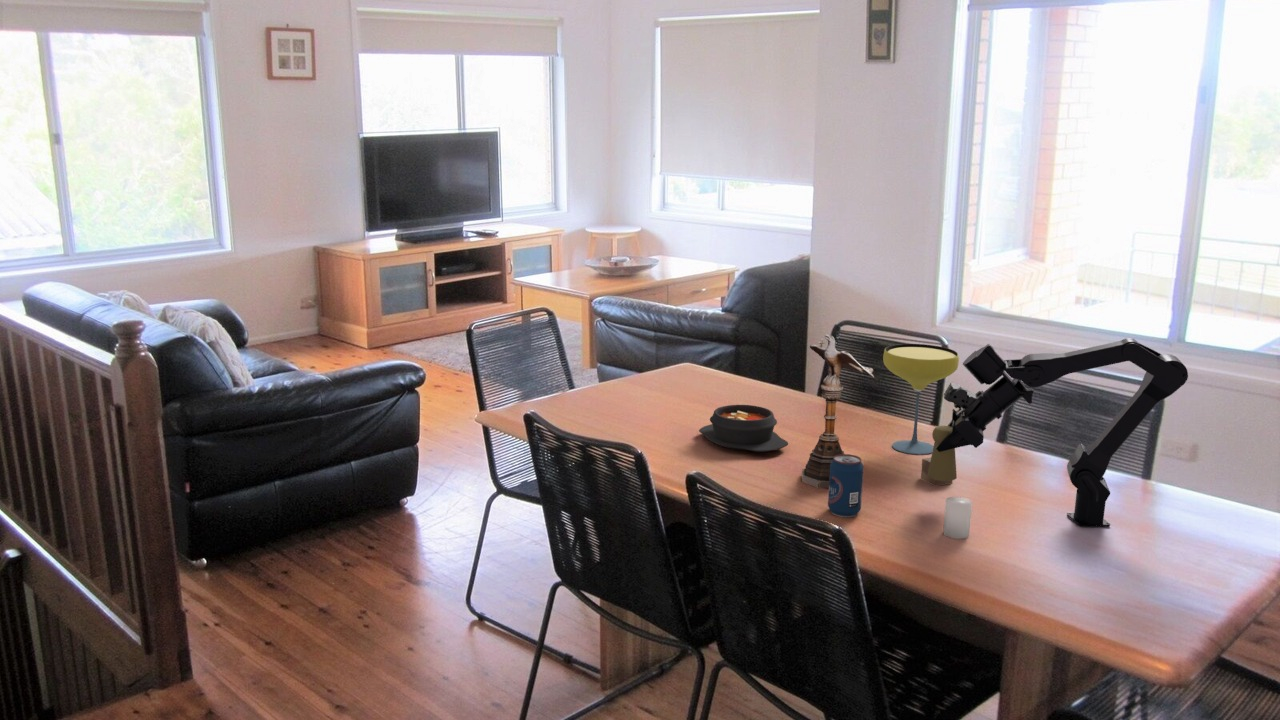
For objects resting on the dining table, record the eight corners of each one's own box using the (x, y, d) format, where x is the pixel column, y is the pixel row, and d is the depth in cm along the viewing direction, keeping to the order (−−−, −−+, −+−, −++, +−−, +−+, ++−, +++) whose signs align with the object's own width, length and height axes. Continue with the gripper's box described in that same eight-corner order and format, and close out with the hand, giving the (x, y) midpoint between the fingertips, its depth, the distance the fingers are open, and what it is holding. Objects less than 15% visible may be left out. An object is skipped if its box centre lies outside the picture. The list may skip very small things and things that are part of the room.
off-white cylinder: (972, 538, 211) (975, 505, 209) (948, 538, 211) (950, 505, 209) (964, 529, 216) (966, 496, 214) (939, 529, 215) (942, 496, 214)
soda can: (821, 508, 226) (824, 455, 223) (849, 504, 228) (852, 451, 225) (838, 520, 219) (841, 465, 217) (867, 516, 222) (870, 461, 219)
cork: (957, 481, 223) (961, 432, 221) (928, 479, 224) (931, 430, 222) (955, 472, 229) (959, 423, 226) (926, 470, 230) (930, 422, 228)
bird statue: (831, 462, 255) (839, 320, 247) (875, 476, 246) (885, 329, 237) (785, 476, 245) (792, 328, 237) (829, 492, 235) (837, 338, 227)
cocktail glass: (876, 455, 260) (883, 357, 255) (878, 434, 278) (884, 341, 272) (952, 462, 256) (961, 362, 251) (949, 440, 273) (957, 346, 268)
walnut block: (952, 483, 242) (954, 462, 241) (934, 486, 240) (936, 465, 239) (938, 476, 247) (940, 456, 246) (920, 479, 245) (922, 458, 244)
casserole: (804, 449, 265) (805, 416, 263) (752, 464, 254) (753, 430, 252) (733, 425, 284) (734, 395, 282) (682, 439, 272) (683, 407, 270)
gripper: (968, 361, 229) (912, 407, 234) (970, 382, 212) (910, 431, 217) (1003, 399, 229) (947, 444, 234) (1008, 423, 211) (947, 471, 217)
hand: (937, 446), depth 225 cm, fingers closed on cork, 5 cm apart
